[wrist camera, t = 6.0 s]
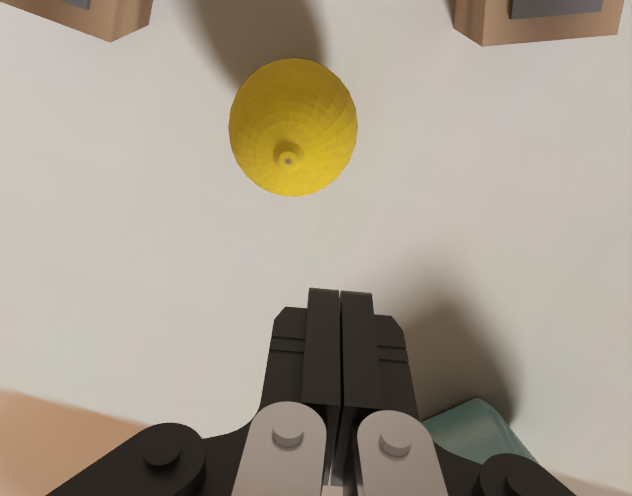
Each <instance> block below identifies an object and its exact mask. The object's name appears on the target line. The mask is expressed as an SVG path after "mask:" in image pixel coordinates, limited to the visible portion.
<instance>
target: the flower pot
mask: <svg viewBox="0 0 632 496" xmlns="http://www.w3.org/2000/svg"><path fill="white" fill-rule="evenodd" d="M421 424H422V425H423V426H424V427H425V428H426V429H427V431H428V432H429V434H430V436H431V438H432V440H433V441H434V442H435V443H437V444H438V445H439V446H441V447H442V448H444V449H445V450H447V451H449V452H451V453H453V454H456V455H458V456H461V457H463V458H466V459H469V460H471V461H474V462H477V463H479V464H482V465H483V464H484V462H485V461H486V460H487V459H488V458H490V457H491V456H493V455H496V454H501V453H511V454H517V455H520V456H523V457H526V458H528V459H530V460H532V461H534V462H536V463H537V464H539V463H538V462H537V461H536V459H535V458H534V457H533V456H532V455H531V453H530V452H529V451H528V450H527V448H526V447H525V446H524V445H523V444H522V442H521V441H520V440H519V439H518V437H517V436H516V435H515V433H514V432H513V431H512V430H511V428H510V427H509V426H508V424H507V423H506V422H505V420H504V419H503V418H502V417H501V415H500V414H499V413H498V412H497V411H496V410H495V409H494V408H493V407H492V406H491V405H489V404H488V403H487V402H485V401H483V400H482V399H480V398H474V399H472V400H469V401H467V402H465V403H463V404H461V405H458V406H456V407H454V408H452V409H450V410H448V411H445V412H443V413H441V414H438V415H436V416H434V417H432V418H429V419H427V420H425V421H423V422H421ZM539 465H540V464H539Z"/></svg>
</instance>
